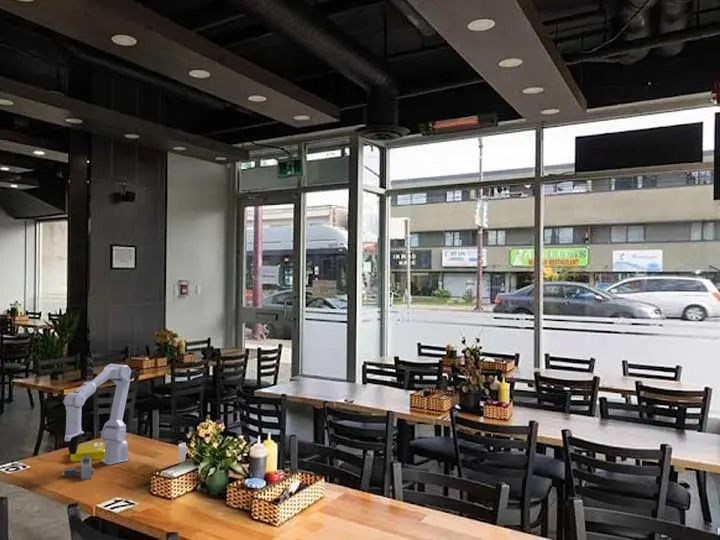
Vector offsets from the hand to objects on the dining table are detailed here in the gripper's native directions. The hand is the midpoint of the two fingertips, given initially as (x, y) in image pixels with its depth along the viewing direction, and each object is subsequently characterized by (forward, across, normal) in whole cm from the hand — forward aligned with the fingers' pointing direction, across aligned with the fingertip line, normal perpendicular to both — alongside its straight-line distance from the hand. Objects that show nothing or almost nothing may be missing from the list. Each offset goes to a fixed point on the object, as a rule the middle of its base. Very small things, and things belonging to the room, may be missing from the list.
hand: (72, 453), depth 247 cm
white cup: (+10, +9, -46) cm, 47 cm away
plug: (+10, +2, -2) cm, 10 cm away
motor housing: (+10, +2, -5) cm, 11 cm away
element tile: (+10, +29, +2) cm, 30 cm away
